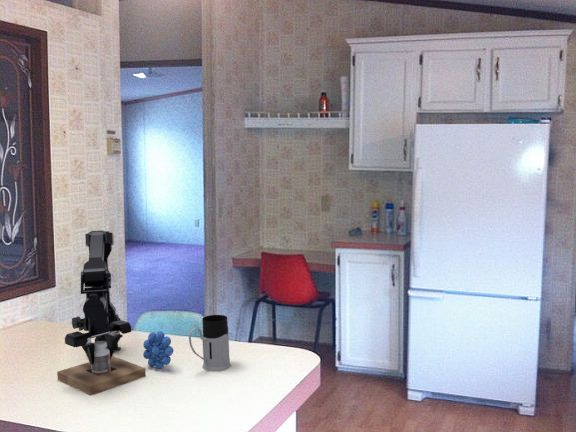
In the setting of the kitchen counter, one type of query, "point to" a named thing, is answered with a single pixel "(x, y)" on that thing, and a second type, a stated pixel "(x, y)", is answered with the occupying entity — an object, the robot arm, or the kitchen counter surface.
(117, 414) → the kitchen counter surface
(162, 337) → the grapes
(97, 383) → the hole plate
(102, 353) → the pill bottle
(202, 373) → the kitchen counter surface
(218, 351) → the glass holder
